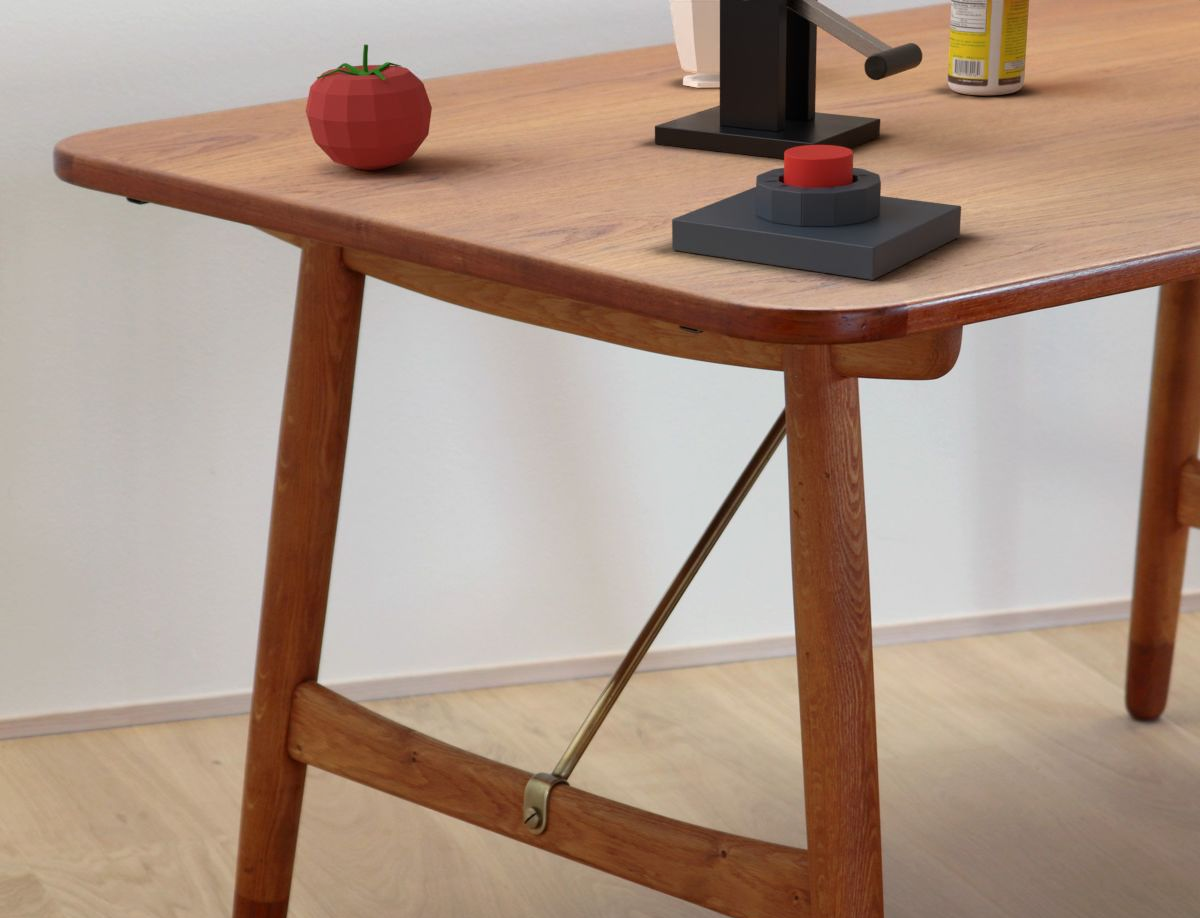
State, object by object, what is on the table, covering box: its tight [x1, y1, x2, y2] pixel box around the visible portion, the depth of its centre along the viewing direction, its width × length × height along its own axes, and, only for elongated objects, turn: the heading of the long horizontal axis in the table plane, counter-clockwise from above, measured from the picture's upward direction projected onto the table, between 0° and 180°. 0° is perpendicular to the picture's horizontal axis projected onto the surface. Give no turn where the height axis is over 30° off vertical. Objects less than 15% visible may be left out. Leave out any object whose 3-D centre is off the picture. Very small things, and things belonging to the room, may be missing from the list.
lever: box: [787, 0, 923, 81], centre depth 122 cm, size 12×5×2 cm, turn 55°
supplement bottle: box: [947, 0, 1030, 97], centre depth 140 cm, size 6×6×10 cm
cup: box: [668, 0, 720, 89], centre depth 147 cm, size 7×10×8 cm
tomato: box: [305, 43, 433, 171], centre depth 122 cm, size 8×8×8 cm
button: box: [783, 145, 854, 188], centre depth 101 cm, size 4×4×2 cm
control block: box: [671, 167, 962, 281], centre depth 102 cm, size 12×10×4 cm
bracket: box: [654, 0, 881, 160], centre depth 125 cm, size 12×9×12 cm
